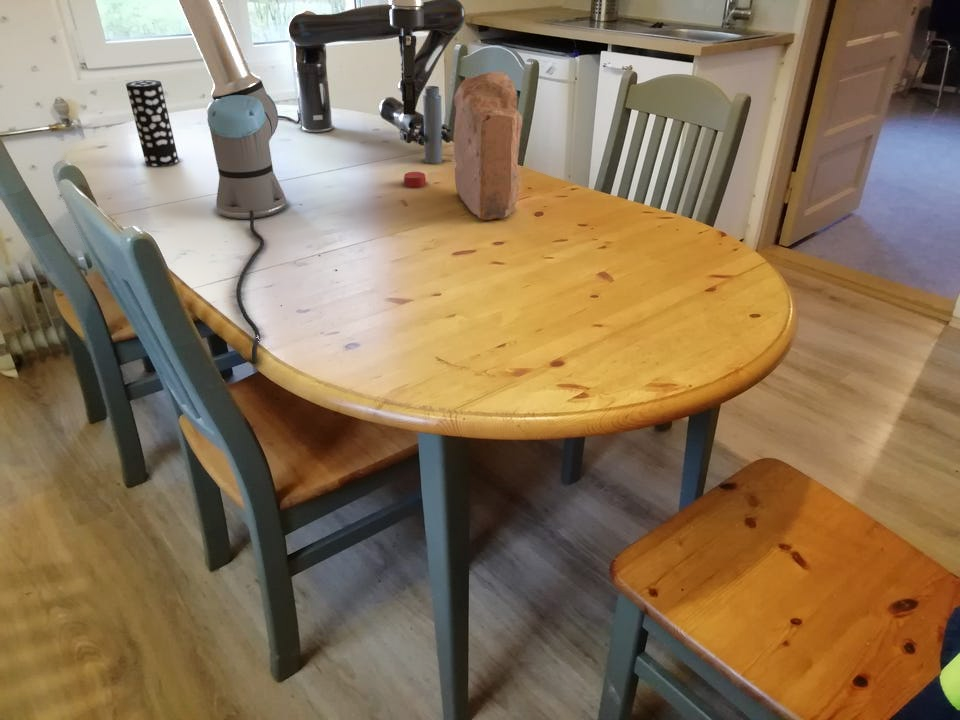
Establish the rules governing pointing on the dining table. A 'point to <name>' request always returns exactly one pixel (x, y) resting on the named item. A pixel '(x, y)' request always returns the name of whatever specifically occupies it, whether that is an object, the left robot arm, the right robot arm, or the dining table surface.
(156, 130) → the black white spotted cylinder
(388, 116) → the right robot arm
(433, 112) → the bottle
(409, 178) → the lid
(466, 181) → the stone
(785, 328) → the dining table surface
